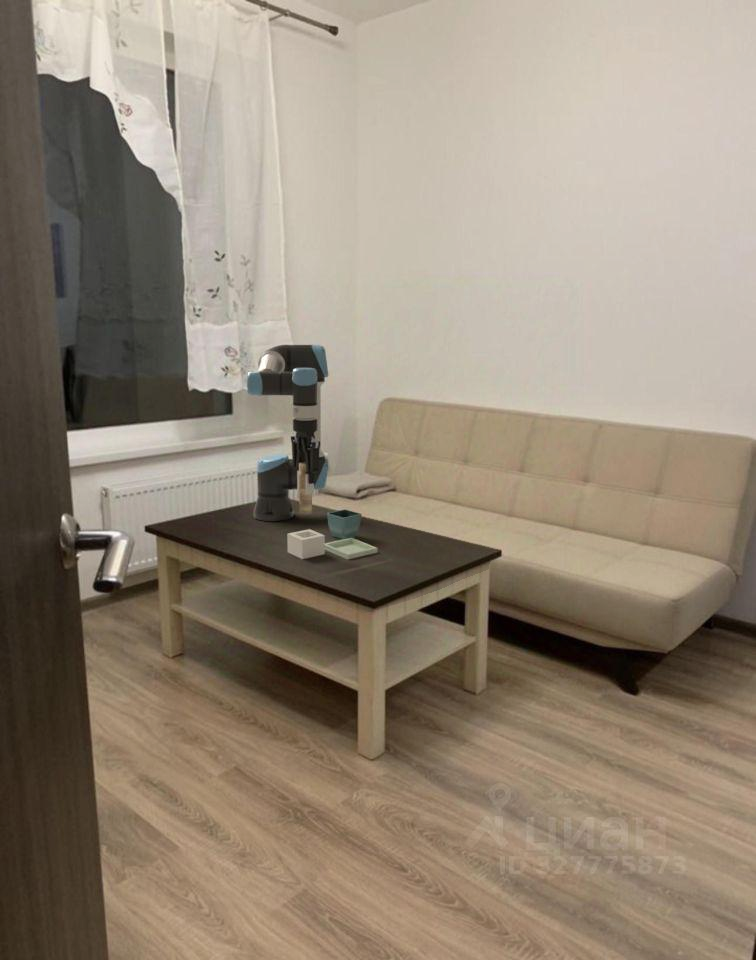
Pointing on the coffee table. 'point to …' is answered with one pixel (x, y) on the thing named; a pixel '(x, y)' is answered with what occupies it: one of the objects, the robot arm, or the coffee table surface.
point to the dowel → (304, 492)
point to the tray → (350, 548)
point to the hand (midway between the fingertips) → (305, 491)
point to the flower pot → (344, 523)
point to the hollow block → (306, 543)
